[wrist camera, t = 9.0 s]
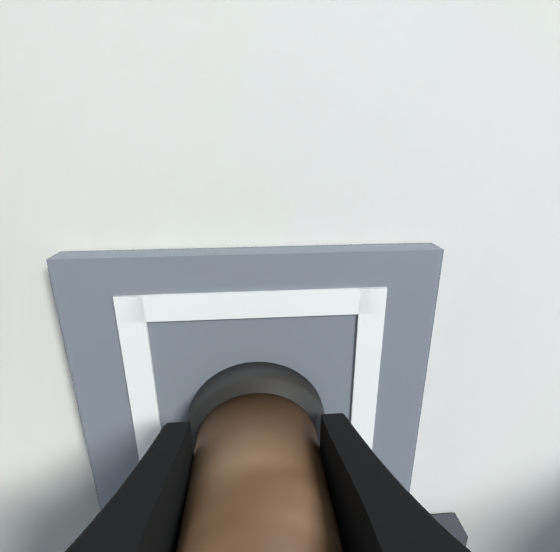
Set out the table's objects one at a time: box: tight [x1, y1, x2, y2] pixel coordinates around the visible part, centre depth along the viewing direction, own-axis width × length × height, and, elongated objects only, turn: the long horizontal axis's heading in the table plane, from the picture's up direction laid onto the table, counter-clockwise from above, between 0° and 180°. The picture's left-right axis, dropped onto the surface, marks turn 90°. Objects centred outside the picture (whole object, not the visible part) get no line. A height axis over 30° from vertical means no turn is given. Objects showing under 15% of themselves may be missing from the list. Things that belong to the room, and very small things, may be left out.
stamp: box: [176, 362, 344, 552], centre depth 9 cm, size 4×4×6 cm
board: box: [46, 243, 444, 510], centre depth 12 cm, size 11×10×1 cm
